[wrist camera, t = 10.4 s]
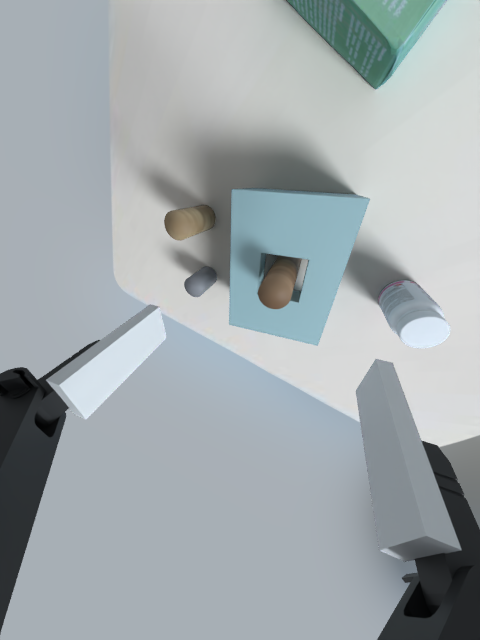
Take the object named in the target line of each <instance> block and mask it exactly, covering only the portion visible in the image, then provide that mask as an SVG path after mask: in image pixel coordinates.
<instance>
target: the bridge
mask: <svg viewBox="0 0 480 640" xmlns="http://www.w3.org/2000/svg"><path fill="white" fill-rule="evenodd" d="M369 200H370V199H369V198H366V197H363V196H359V195H354V194H339V193H324V192H308V191H293V190H278V189H262V188H245V189H232V197H231V252H230V308H229V325H233V326H237V327H241V328H246V329H250V330H254V331H258V332H262V333H267V334H271V335H275V336H279V337H283V338H288V339H292V340H296V341H300V342H304V343H308V344H313V345H317V346H318V343H319V341H320V338H321V335H322V332H323V329H324V327H325V324H326V321H327V318H328V315H329V313H330V310H331V307H332V304H333V301H334V299H335V296H336V293H337V290H338V287H339V284H340V282H341V279H342V276H343V273H344V270H345V268H346V265H347V262H348V259H349V256H350V254H351V251H352V248H353V245H354V242H355V240H356V237H357V234H358V231H359V228H360V226H361V223H362V220H363V217H364V214H365V212H366V209H367V206H368V203H369ZM266 253H267V254H274V255H281V256H288V257H295V258H302V259H309V260H308V265H307V269H306V273H305V277H304V281H303V285H302V289H301V292H300V291H295V290H293V292H292V296H291V300H290V302H289V303H288V304H287V305H286V306H285V307H283V308H281V309H270V308H268V307H266V306H264V305H263V304H262V303H261V301H260V300H259V297H258V289H259V287H260V285H261V283H262V282H263V277H264V269H265V260H266Z"/></svg>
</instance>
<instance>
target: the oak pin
mask: <svg viewBox="0 0 480 640" xmlns="http://www.w3.org/2000/svg"><path fill="white" fill-rule="evenodd" d="M164 223H165V228H166V231H167V232H168V234H169V235H170V236H171V237H172V238H173V239H175V240H184V239H186V238H189V237H191V236H194V235H196V234H198V233H201V232H203V231H206V230H208V229H211V228H212V227H213V226H214V224H215V214H214V211H213V210H212V209H211V208H210V207H209V206H207V205H201V206H196V207H190V208H184V209H179V210H173V211H170V212H168V213H167V214H166V216H165V220H164Z"/></svg>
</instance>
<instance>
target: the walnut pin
mask: <svg viewBox="0 0 480 640" xmlns="http://www.w3.org/2000/svg"><path fill="white" fill-rule="evenodd" d="M301 259H302V258H295V257H288V256H281V255H278V257H277V259H276V260H275V262H274V264H273V265H272V267H271V268H270V270H269V272H268V273H267V275H266V277H265V278H264V280H263V282H262V283H261V285H260V287H259V289H258V297H259V300H260V301H261V303H262V304H263V305H264V306H266V307H268V308H270V309H281V308H283V307H285V306H286V305H287V304H288V303H289V302H290V300H291V296H292V292H293V289H294V285H295V281H296V278H297V274H298V270H299V267H300V263H301Z"/></svg>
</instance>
